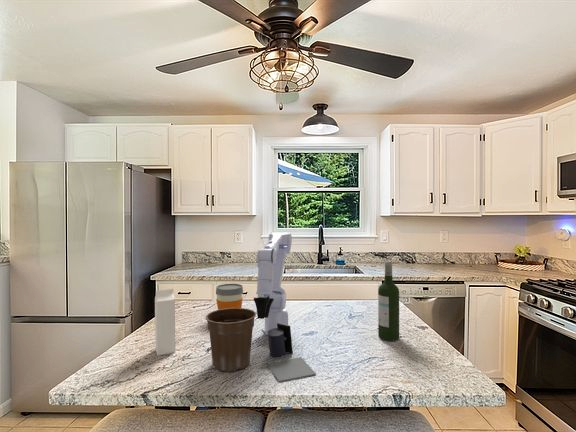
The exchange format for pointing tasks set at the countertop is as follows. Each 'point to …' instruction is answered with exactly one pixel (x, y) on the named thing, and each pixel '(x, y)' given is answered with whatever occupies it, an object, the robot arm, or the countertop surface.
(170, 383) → the countertop surface
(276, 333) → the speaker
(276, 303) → the robot arm
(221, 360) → the plant pot
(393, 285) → the wine bottle
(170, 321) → the milk
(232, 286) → the reusable coffee cup
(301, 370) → the mat
